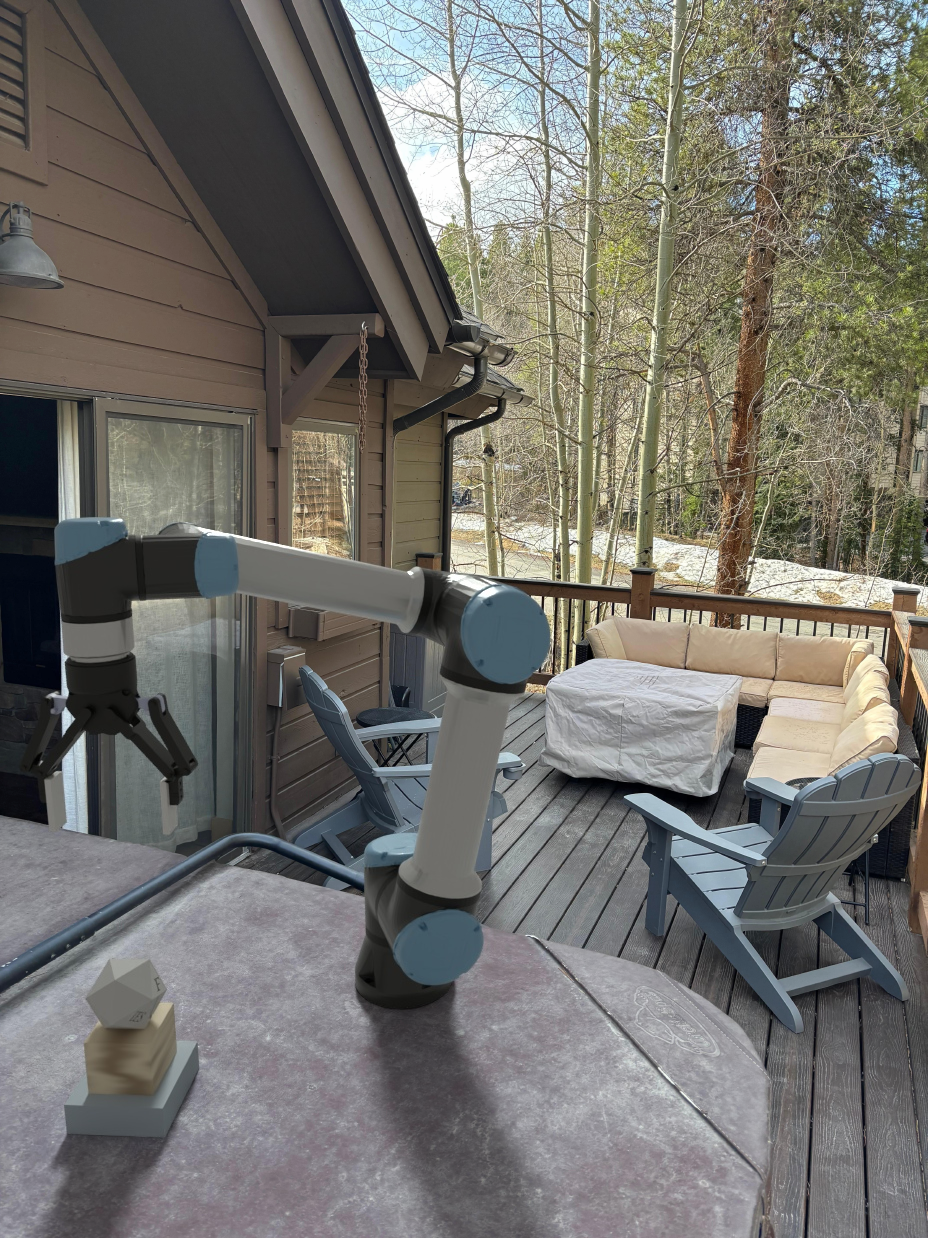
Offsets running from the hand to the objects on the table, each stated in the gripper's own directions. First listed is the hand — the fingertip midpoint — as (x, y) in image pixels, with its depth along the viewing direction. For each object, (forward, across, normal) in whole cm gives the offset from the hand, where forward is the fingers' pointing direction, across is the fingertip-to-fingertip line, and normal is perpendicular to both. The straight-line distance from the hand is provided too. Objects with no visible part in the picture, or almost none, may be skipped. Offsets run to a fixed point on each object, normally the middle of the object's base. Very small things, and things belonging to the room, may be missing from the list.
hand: (114, 828), depth 104 cm
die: (+26, 0, 0) cm, 26 cm away
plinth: (+37, 0, 0) cm, 37 cm away
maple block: (+33, 0, 0) cm, 33 cm away
